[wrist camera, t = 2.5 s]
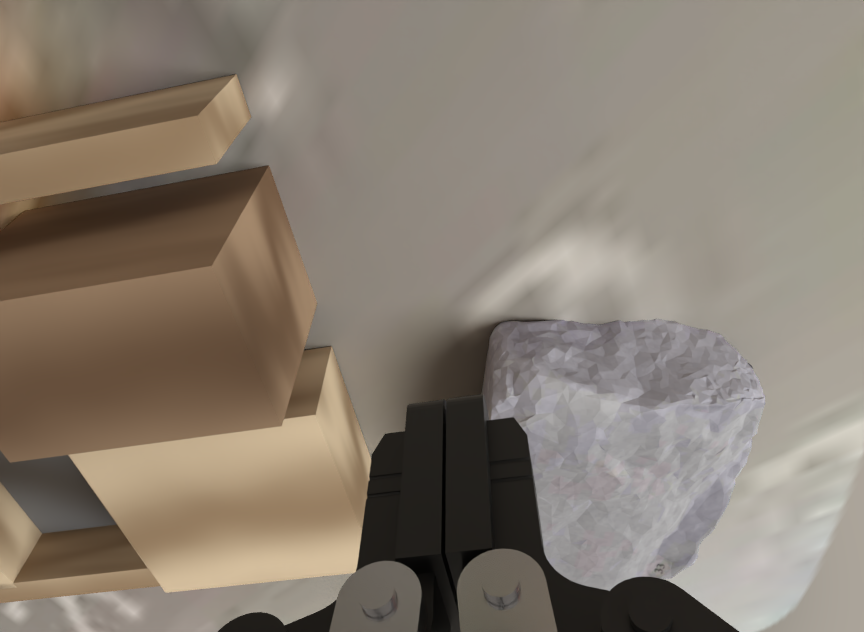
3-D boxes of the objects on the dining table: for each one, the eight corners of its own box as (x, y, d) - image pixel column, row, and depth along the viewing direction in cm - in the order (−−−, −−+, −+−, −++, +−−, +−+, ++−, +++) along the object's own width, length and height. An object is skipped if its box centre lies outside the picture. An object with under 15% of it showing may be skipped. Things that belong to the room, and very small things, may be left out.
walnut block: (26, 209, 21) (-103, 318, 16) (269, 164, 20) (212, 265, 15) (100, 336, 24) (9, 462, 19) (317, 301, 23) (281, 425, 18)
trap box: (-451, 214, 21) (-591, 271, 19) (236, 74, 19) (197, 115, 16) (-91, 566, 32) (-145, 638, 29) (389, 510, 29) (382, 584, 26)
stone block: (734, 290, 25) (466, 307, 23) (817, 379, 21) (503, 407, 19) (652, 500, 32) (443, 525, 30) (703, 594, 28) (467, 629, 26)
